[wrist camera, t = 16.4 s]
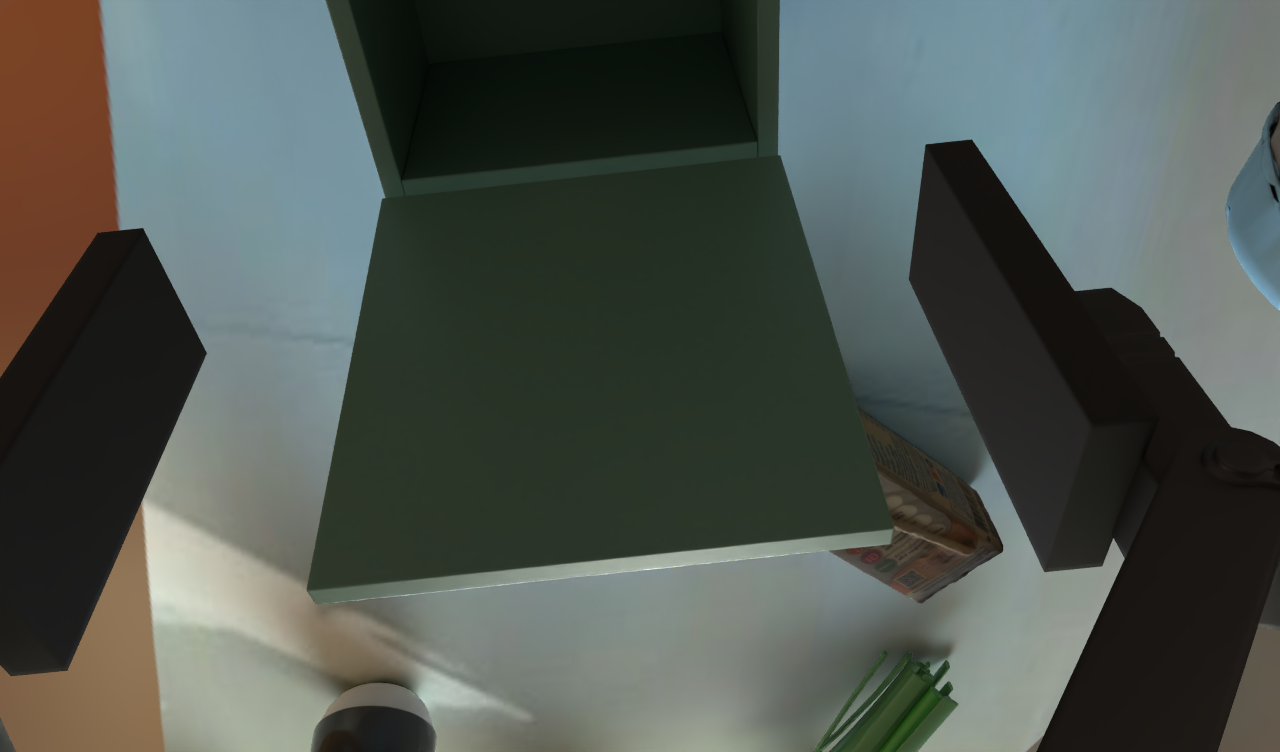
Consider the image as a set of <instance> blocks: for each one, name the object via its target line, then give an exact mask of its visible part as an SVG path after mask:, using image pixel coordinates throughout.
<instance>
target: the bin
mask: <svg viewBox="0 0 1280 752" xmlns="http://www.w3.org/2000/svg"><path fill="white" fill-rule="evenodd" d="M326 3H327V6H328V10H329V13H330V16H331V20H332V23H333V26H334V29H335V33H336V36H337V39H338V43H339V46H340V49H341V52H342V56H343V59H344V62H345V66H346V69H347V72H348V75H349V79H350V82H351V85H352V89H353V92H354V95H355V98H356V102H357V105H358V108H359V112H360V115H361V118H362V122H363V125H364V128H365V131H366V135H367V138H368V141H369V145H370V148H371V151H372V154H373V158H374V161H375V164H376V168H377V171H378V174H379V177H380V181H381V184H382V187H383V191H384V194H385V197H386V198H393V197H402V196H411V195H420V194H429V193H438V192H447V191H457V190H466V189H475V188H484V187H493V186H502V185H511V184H520V183H530V182H539V181H548V180H557V179H566V178H575V177H584V176H593V175H603V174H612V173H621V172H630V171H639V170H648V169H657V168H667V167H676V166H685V165H694V164H703V163H712V162H721V161H730V160H740V159H749V158H757V157H767V156H776V155H778V100H779V13H780V0H326Z"/></svg>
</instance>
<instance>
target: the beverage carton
mask: <svg viewBox="0 0 1280 752" xmlns="http://www.w3.org/2000/svg"><path fill="white" fill-rule="evenodd" d="M858 410H859V414H860V417H861V420H862V423H863V427H864V430H865V433H866V436H867V440H868V443H869V446H870V449H871V453H872V456H873V459H874V462H875V466H876V469H877V472H878V476H879V479H880V482H881V485H882V489H883V492H884V495H885V498H886V502H887V505H888V508H889V511H890V515H891V518H892V521H893V524H894V532H893V537H892V542H891V544H886V545H876V546H867V547H857V548H848V549H838V550H829V552H831V553H832V554H834V555H836V556H838V557H839V558H841V559H842V560H844V561H846V562H848V563H850V564H851V565H853V566H855V567H857V568H858V569H860V570H861V571H863V572H865V573H867V574H868V575H870V576H872V577H874V578H876V579H877V580H879V581H881V582H882V583H885V584H886V585H888V586H889V587H891V588H893V589H895V590H896V591H898V592H900V593H902V594H903V595H905V596H906V597H909V598H912V599H913V600H915V601H916V602H918V603H923V602H925V601H926V600H927V599H929V598H930V597H932V596H933V595H934V594H935V593H937V592H938V591H940V590H942V589H943V588H945V587H946V586H948V585H949V584H951V583H954V582H957V581H958V580H959V579H961V578H962V577H964V576H966V575H967V574H968V573H969V572H970V571H972V570H974V569H975V568H976V567H977V566H979V565H981V564H983V563H985V562H987V561H989V560H990V559H992V558H993V557H995V556H997V555H998V554H1000V553H1002V551H1003V544H1002V542H1001V539H1000V537H999V535H998V533H997V530H996V528H995V526H994V524H993V522H992V521H991V519H990V516H989V514H988V512H987V510H986V509H985V507H984V504H983V502H982V500H981V498H980V496H979V495H978V493H977V491H976V490H974V489H972V488H971V487H970V486H969V485H968V484H966V483H965V482H963V481H962V480H961V479H959V478H958V477H957V476H955V475H954V474H953V473H951V472H950V471H948V470H947V469H945V468H944V467H942V466H941V465H940V464H938V463H937V462H935V461H934V460H932V459H931V458H930V457H928V456H927V455H925V454H923V453H922V452H921V451H919V450H918V449H916V448H915V447H913V446H912V445H911V444H909V443H908V442H906V441H905V440H903V439H902V438H900V437H899V436H897V435H896V434H894V433H893V432H891V431H890V430H889V429H887V428H886V427H884V426H883V425H881V424H880V423H878V422H877V421H876V420H874V419H873V418H871V417H870V416H868V415H867V414H866V413H864V412H863V411H861V410H860V409H858Z"/></svg>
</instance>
